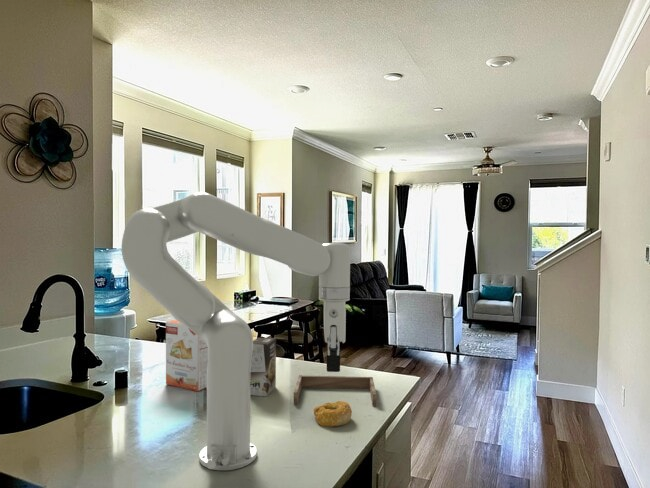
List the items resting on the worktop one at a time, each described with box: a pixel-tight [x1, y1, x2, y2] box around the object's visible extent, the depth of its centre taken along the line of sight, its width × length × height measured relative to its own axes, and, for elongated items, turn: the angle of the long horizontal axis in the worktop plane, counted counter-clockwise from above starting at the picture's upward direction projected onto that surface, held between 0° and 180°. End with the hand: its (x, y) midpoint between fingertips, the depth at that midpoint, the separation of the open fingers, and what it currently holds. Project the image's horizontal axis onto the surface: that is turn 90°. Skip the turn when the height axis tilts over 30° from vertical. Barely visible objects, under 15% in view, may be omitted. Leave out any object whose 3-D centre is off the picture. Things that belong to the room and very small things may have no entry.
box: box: [293, 374, 377, 407], centre depth 143 cm, size 16×24×4 cm, turn 88°
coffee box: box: [250, 337, 277, 397], centre depth 146 cm, size 9×6×16 cm
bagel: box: [313, 400, 353, 428], centre depth 125 cm, size 10×11×5 cm
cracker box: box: [165, 319, 208, 392], centre depth 150 cm, size 14×6×21 cm, turn 62°
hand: (333, 368), depth 113 cm, fingers open, 3 cm apart
